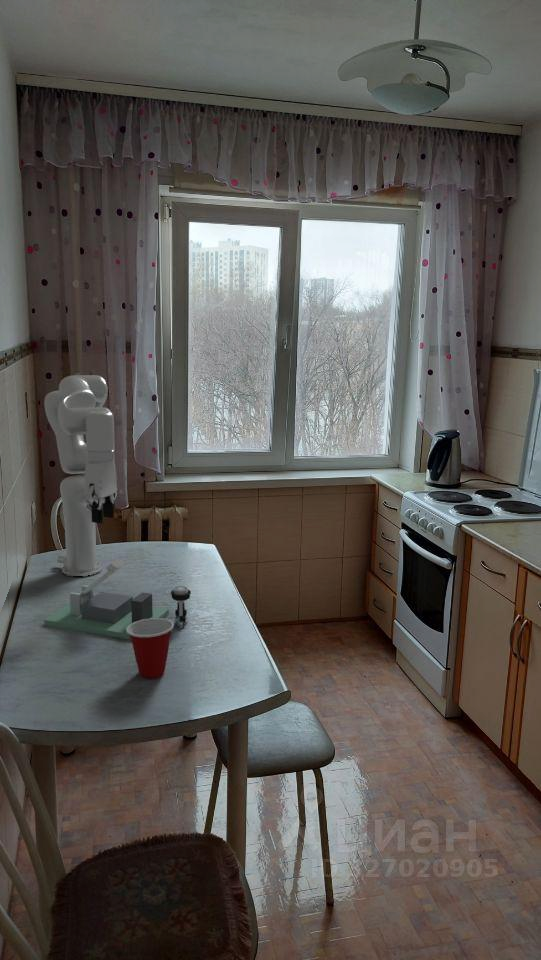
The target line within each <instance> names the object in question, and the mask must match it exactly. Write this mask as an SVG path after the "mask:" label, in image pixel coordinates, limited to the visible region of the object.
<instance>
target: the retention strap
mask: <svg viewBox="0 0 541 960" xmlns="http://www.w3.org/2000/svg"><path fill="white" fill-rule="evenodd" d="M125 565H126V563H125V562H124V561H123V560H122V559H121V558H120V557H119V558H118V559H116V560H115V561H112V562H111V563H110V564H109V565H107V566H106V567H105V569H106V570H107V572H105V573H104V574H103V575H102V576H100V577H99V578H97V579H96V580H95V581H93V583H91V584H90V585H88V586H89V587H87V588H86V589H85V590H84V591H82V590H81V592H80V593H81V597H83V596H85V595H87V594H88V593H89V592H90V591H91V590H92V589H93V590H94V589H95V588H96V587H98V586H99V585H100V584H102V583H103V582H104V581H105V580H107V579H108V578H109V577H111V575H113V574H114V573H116V572H117V571H118V570H119V569H120V568H122V567H123V566H125Z"/></svg>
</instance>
